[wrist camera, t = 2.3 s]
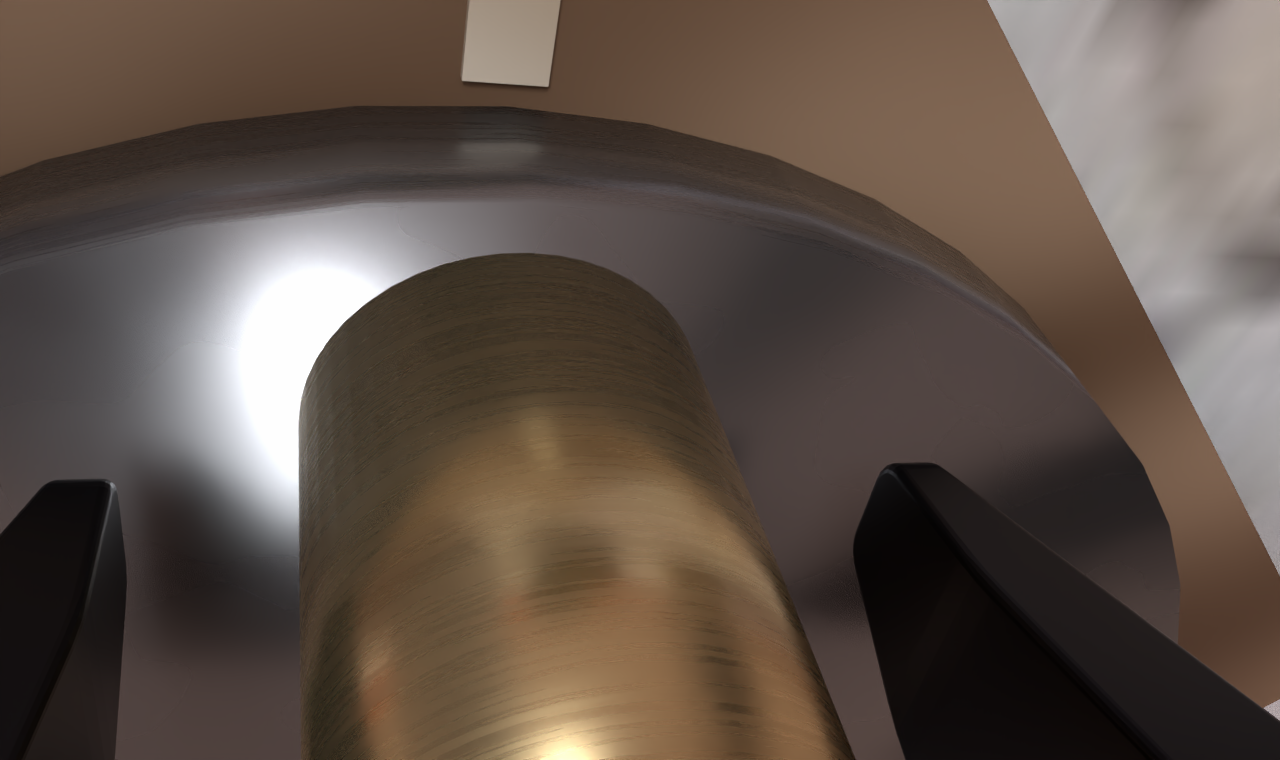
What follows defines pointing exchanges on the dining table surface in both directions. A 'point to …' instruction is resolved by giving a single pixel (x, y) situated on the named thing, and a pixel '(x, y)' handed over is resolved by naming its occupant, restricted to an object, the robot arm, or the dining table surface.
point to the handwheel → (517, 432)
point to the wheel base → (723, 112)
